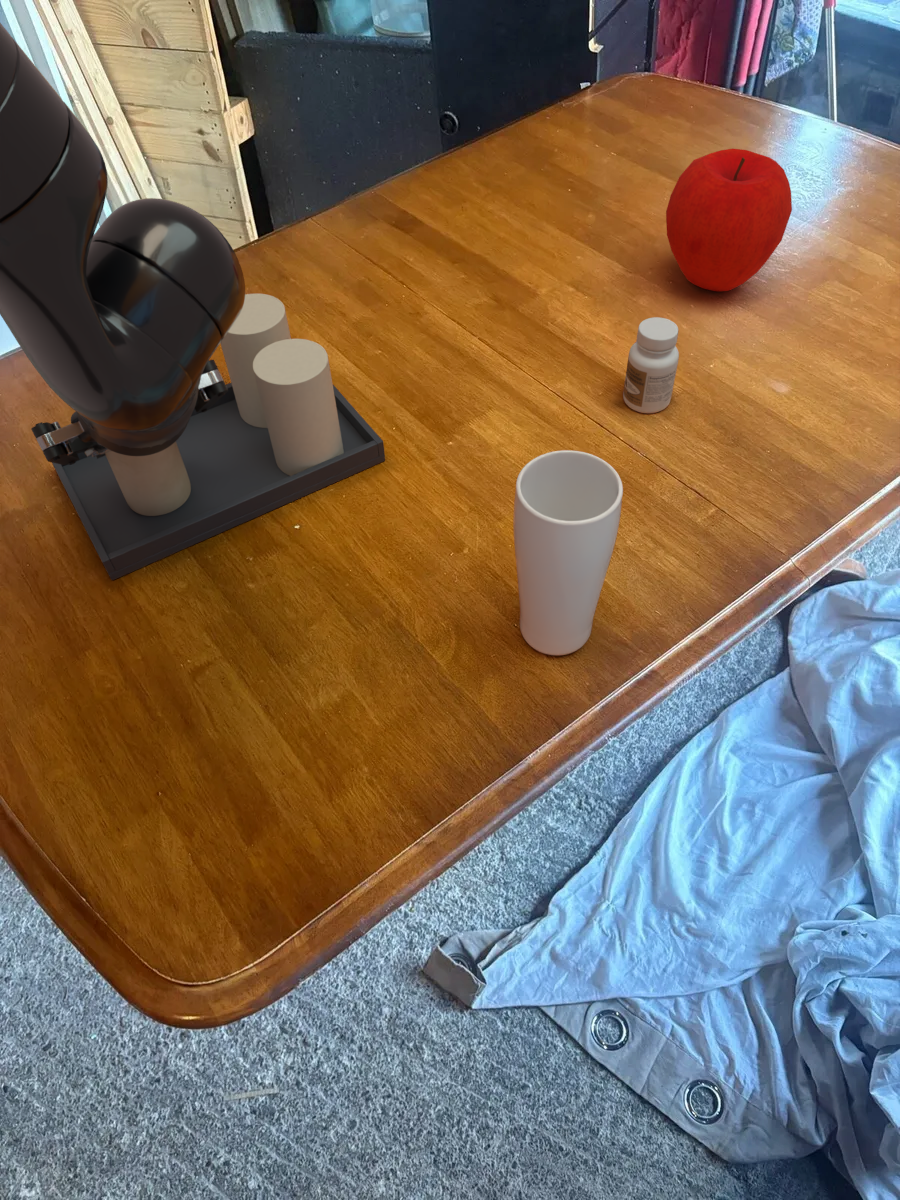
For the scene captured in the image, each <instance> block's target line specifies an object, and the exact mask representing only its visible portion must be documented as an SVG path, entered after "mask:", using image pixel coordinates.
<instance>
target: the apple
mask: <svg viewBox="0 0 900 1200" xmlns="http://www.w3.org/2000/svg"><path fill="white" fill-rule="evenodd" d="M792 202H793V201H792V189H791V185H790V181H789V179H788V176H787V174H786V172H785V169H784V168H783V167H782V166H781V165H780V164H779V163H778V162H777V161H776V160H775V159H773V158H771V157H769V156H766V155H763V154H760V153H757V152H754V151H751V150H748V149H742V148H741V149H740V148H727V149H726V148H725V149H721V150H717V151H714V152H711V153H708V154H705V155H702V156H700V157H697V158H695V159H693V160H692V161H691V162H690V164H689V165H688V166H687V167H686V168H685V170H683V172H682V173H681V174H680V175H679V176H678V179H677V181H676V183H675V185H674V187H673V190H672V192H671V194H670V196H669V200H668V204H667V207H666V210H665V211H666V212H665V218H666V219H665V223H666V225H665V226H666V237H667V240H668V244H669V247H670V250H671V253H672V254H673V256H674V259H675V261H676V263H677V265H678V267H679V270H680V271H681V273H682V274H683V275H684V277H685V278H686V280H687V281H689V282H690V283H691V284H693V285H695V286H697V287H699V288H701V289H704V290H709V291H711V292H712V291H713V292H729V291H731V290H733V289H735V288H738V287H740V286H742V285H743V284H745V282H747V281H749V280H750V279H751V278H752V277H753V276H755V275H756V274H757V273H758V272H759V271H760V270H761V269H762V268H763V267H764V265H765V264H766V263H767V262H768V260H769V259H770V258H771V256H772V255H773V253H774V252H775V250H776V249H777V248H778V246H779V245H780V244H781V242H782V241H783V237H784V235H785V232H786V229H787V226H788V223H789V220H790V217H791V214H792V212H793V204H792Z"/></svg>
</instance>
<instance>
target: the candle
mask: <svg viewBox="0 0 900 1200" xmlns="http://www.w3.org/2000/svg"><path fill="white" fill-rule="evenodd" d="M105 455H106V457H107V459H108V462H109V464H110V466H111V468H112V471H113V473H114V475H115V477H116V480H117V482H118V484H119V486H120V489H121V491H122V493H123V495H124V497H125V500H126V502H127V504H128V505H129V506H130V508H131V509H132V510H133V511H135V512H136V513H138V514H141V515H145V516H158V515H163V514H167V513H169V512H172V511H174V510H176V509H177V508H179V507H180V506H182V505H183V504H184V503H185V502H186V500H187V499H188V497H189V495H190V492H191V484H190V480H189V477H188V474H187V471H186V469H185V466H184V463H183V460H182V457H181V455H180V452H179V449H178V446H177V443H176V441H175V442H174V443H173V444H172V445H171V446H169V447H168V448H166V449H164V450H163V451H160V452H158V453H155V454H152V455H147V456H128V455H123V454H119V453H116V452H113V451H110V452H107V453H105Z"/></svg>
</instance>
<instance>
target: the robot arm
mask: <svg viewBox="0 0 900 1200" xmlns="http://www.w3.org/2000/svg"><path fill="white" fill-rule="evenodd" d="M107 193H108V171H107V166H106V161H105V160H104V156H103V154H102V152H101V150H100V148H99V147H98V145H97V143H96V141H95V140H94V139H93V137H92V136H91V133H89V131H88V130H87V129H86V127H85V126H84V124H83V123H82V122H81V121H80V120H79V118H78V117H77V116H76V114H75V113H74V112H73V111H72V109H71V108H70V107H69V106H68V105H67V103H66V102H65V101H64V100H63V99H62V97H61V96H60V94H59V93H58V92H57V91H56V89H54V87H53V86H52V85H51V83H50V82H49V81H48V79H47V78H46V77H45V76H44V75H43V74H42V72H41V71H40V70H39V69H38V67H37V66H36V65H35V64H34V62H33V61H32V60H31V59H30V57H29V56H28V55H27V54H26V52H25V51H24V50H23V49H22V47H21V46H20V45H19V44H18V43H17V41H16V40H15V38H13V37H12V35H11V34H10V33H9V32H8V30H7V29H6V27H5V26H4V25H3V24H2V23H1V22H0V317H1V318H2V320H3V321H4V323H5V325H6V326H7V328H8V329H9V331H10V332H11V334H12V335H13V337H14V339H15V340H16V342H17V343H18V345H19V347H20V349H21V350H22V351H23V353H24V355H25V356H26V358H27V359H28V361H30V363H31V365H32V366H33V368H34V369H35V370H36V372H37V373H38V374H39V376H40V377H41V378H42V380H44V382H45V383H46V385H47V386H48V387H49V388H50V389H51V390H52V391H53V392H54V393H55V394H56V395H57V396H58V397H59V398H60V400H61V401H63V402H64V403H65V404H66V405H67V406H68V407H70V408H71V409H72V410H73V411H74V412H73V413H72V415H71V417H70V424H67V425H65V426H63V427H61V425H60V423H59V421H56V420H55V421H54V422H48V421H45V422H38V423H36V424H35V425H34V426H32V427H31V428H30V430H31V431H32V434H33V435H34V436H33V437H34V438H35V440H36V442H37V444H38V446H39V447H40V449H41V451H42V453H43V455H44V457H45V459H46V461H47V463H48V462H49V463H51V464H52V463H57V464H61V465H67V464H69V465H72V464H74V463H76V462H75V461H77V460H79V457H78V455H77V454H79V453H82V452H84V453H85V455H86V456H87V457H91V456H92V457H95V456H96V457H97V459H98V458H100V457H103V456H105V453H107V452H110V451H113V452H116V453H119V454H123V455H128V456H147V455H152V454H155V453H158V452H160V451H163V450H164V449H166V448H168V447H169V446H171V445H172V444H173V443H174V442H175V441H177V440H178V438H179V437H180V436H181V435H182V433H183V432H184V430H185V428H186V426H187V424H188V422H189V419H190V417H191V415H192V412H193V410H194V408H195V410H196V412H197V413H199V412H202V413H204V412H206V411H208V409H209V408H211V407H212V406H213V405H214V404H215V403H216V402H217V401H218V400H219V399H220V398H221V397H222V396H223V395H225V394H226V393H227V392H228V389H227V387H226V382H225V381H224V378H223V376H222V374H221V372H220V370H219V368H218V365H217V363H216V362H215V359H211V357H212V356H213V355H214V353H215V352H216V350H217V349H218V347H219V346H220V345H221V341H222V340H223V338H224V337H225V336H226V334H227V333H228V331H229V330H230V328H231V327H232V325H233V324H234V322H235V320H236V319H237V317H238V316H239V314H240V312H241V310H242V308H243V305H244V301H245V294H246V283H245V277H244V276H245V275H244V273H243V268H242V266H241V263H240V259H239V258H238V256H237V254H236V252H235V250H234V248H233V247H232V245H231V243H230V242H229V241H228V239H227V238H226V237H225V236H224V234H223V233H222V232H221V231H220V230H219V228H218V227H217V226H216V225H215V224H213V223H212V222H211V220H209V219H208V218H207V217H206V216H204V215H202V214H201V213H200V212H198V211H197V210H195V209H193V208H191V207H189V206H187V205H186V204H183V203H180V202H177V201H174V200H170V199H164V198H155V197H147V198H138V199H135V200H131V201H129V202H126V203H124V204H122V205H120V206H119V207H117V208H116V209H114V210H113V211H112V212H111V213H110V214H109V215H108V216H107V217H106V218H105V220H104V221H103V222H102V223H101V225H100V226H99V227H98V224H99V222H100V218H101V216H102V213H103V209H104V207H105V203H106V201H105V200H106V198H107V197H106V196H107ZM97 227H98V229H97Z"/></svg>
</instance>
